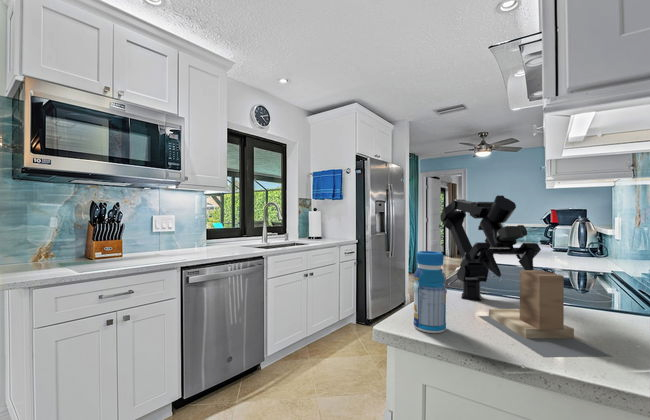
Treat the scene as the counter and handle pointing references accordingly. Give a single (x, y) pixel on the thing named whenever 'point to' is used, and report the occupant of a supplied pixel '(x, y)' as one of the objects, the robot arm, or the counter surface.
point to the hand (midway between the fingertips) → (516, 276)
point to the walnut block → (542, 299)
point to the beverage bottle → (430, 293)
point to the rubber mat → (551, 344)
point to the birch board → (526, 325)
